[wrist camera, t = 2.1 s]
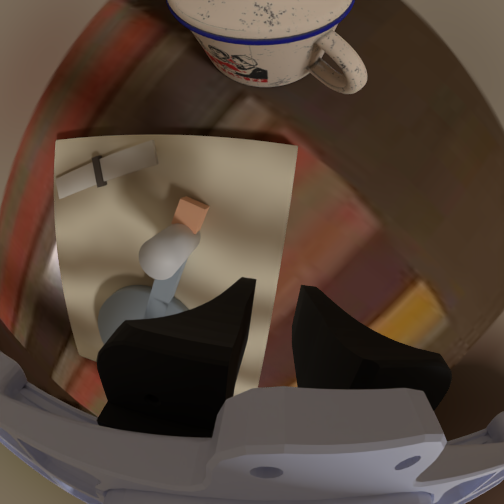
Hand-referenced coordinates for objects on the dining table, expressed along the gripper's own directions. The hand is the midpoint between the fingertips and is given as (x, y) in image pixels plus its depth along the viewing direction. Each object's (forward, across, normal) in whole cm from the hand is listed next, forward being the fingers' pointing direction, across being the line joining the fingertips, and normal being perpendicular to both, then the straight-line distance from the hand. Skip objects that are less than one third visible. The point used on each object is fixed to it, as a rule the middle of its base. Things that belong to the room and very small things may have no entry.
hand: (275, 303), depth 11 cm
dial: (+8, +8, +6) cm, 13 cm away
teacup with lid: (+10, +1, -14) cm, 17 cm away
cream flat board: (+9, +9, +4) cm, 14 cm away
